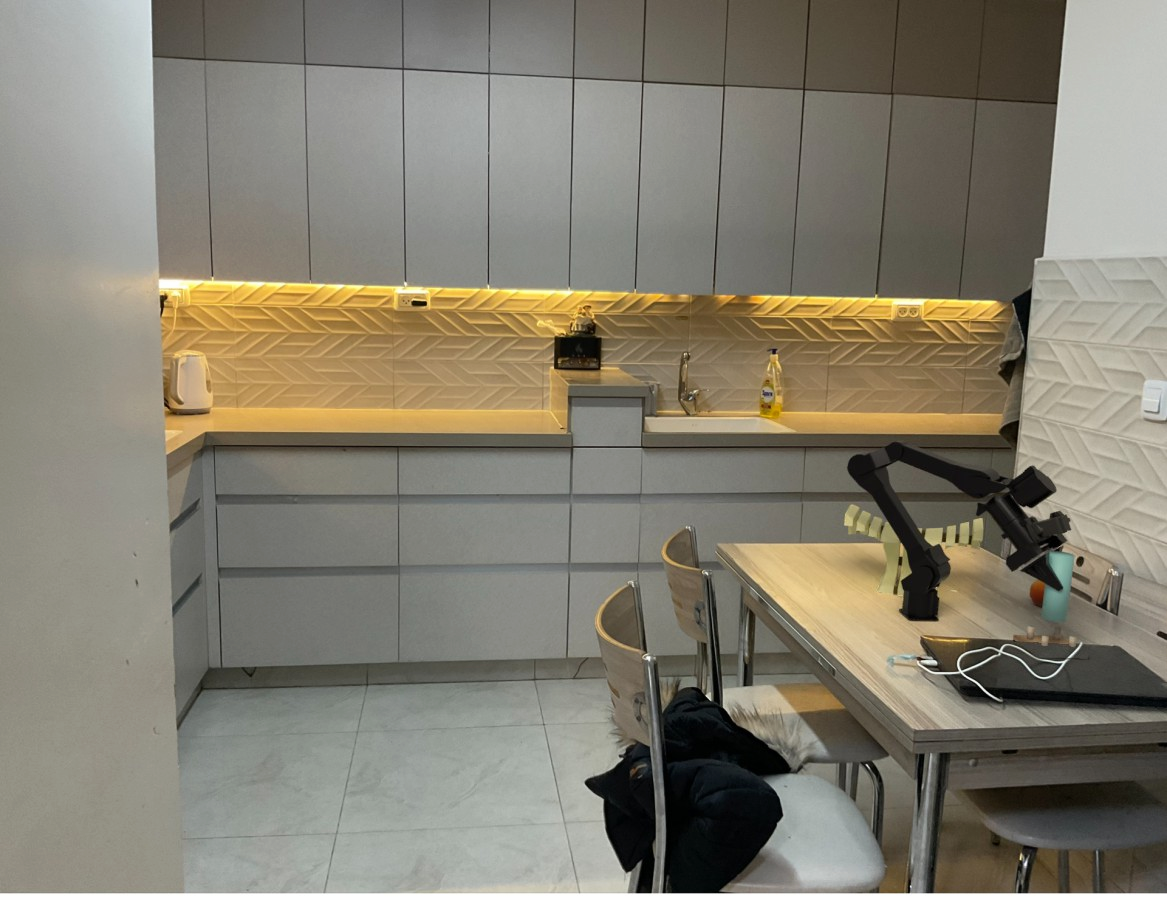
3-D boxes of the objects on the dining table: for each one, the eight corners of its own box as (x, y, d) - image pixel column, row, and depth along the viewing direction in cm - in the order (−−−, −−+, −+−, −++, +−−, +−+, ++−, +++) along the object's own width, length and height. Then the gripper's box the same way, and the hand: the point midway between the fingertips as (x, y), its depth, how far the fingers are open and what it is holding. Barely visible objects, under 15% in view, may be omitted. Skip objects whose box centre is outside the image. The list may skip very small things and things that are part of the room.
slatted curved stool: (974, 587, 234) (982, 515, 231) (975, 606, 219) (983, 528, 216) (846, 571, 244) (852, 501, 242) (839, 587, 230) (845, 513, 227)
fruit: (1052, 608, 214) (1042, 573, 217) (1029, 616, 221) (1019, 582, 224) (1082, 607, 216) (1072, 572, 219) (1058, 615, 224) (1048, 581, 226)
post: (1042, 619, 190) (1050, 555, 188) (1040, 613, 194) (1047, 550, 192) (1068, 623, 188) (1076, 558, 186) (1065, 616, 193) (1072, 552, 191)
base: (1037, 658, 187) (1039, 639, 186) (1012, 640, 197) (1014, 622, 196) (1088, 659, 187) (1090, 641, 187) (1061, 641, 197) (1063, 624, 196)
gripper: (1029, 504, 184) (1085, 574, 178) (1061, 493, 197) (1114, 557, 191) (983, 537, 190) (1035, 605, 184) (1017, 523, 204) (1067, 586, 198)
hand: (1065, 587), depth 189 cm, fingers closed on post, 4 cm apart
